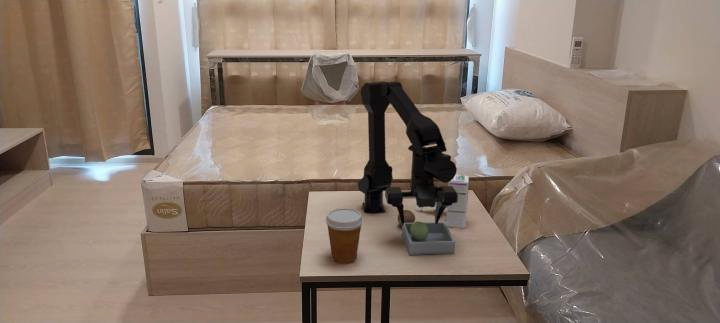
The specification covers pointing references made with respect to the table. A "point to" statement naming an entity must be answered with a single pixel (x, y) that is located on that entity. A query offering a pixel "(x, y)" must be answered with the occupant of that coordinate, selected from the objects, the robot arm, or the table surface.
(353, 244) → the disposable coffee cup
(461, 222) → the syrup box
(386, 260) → the table surface
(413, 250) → the bin
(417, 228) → the green ball
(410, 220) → the walnut ball
